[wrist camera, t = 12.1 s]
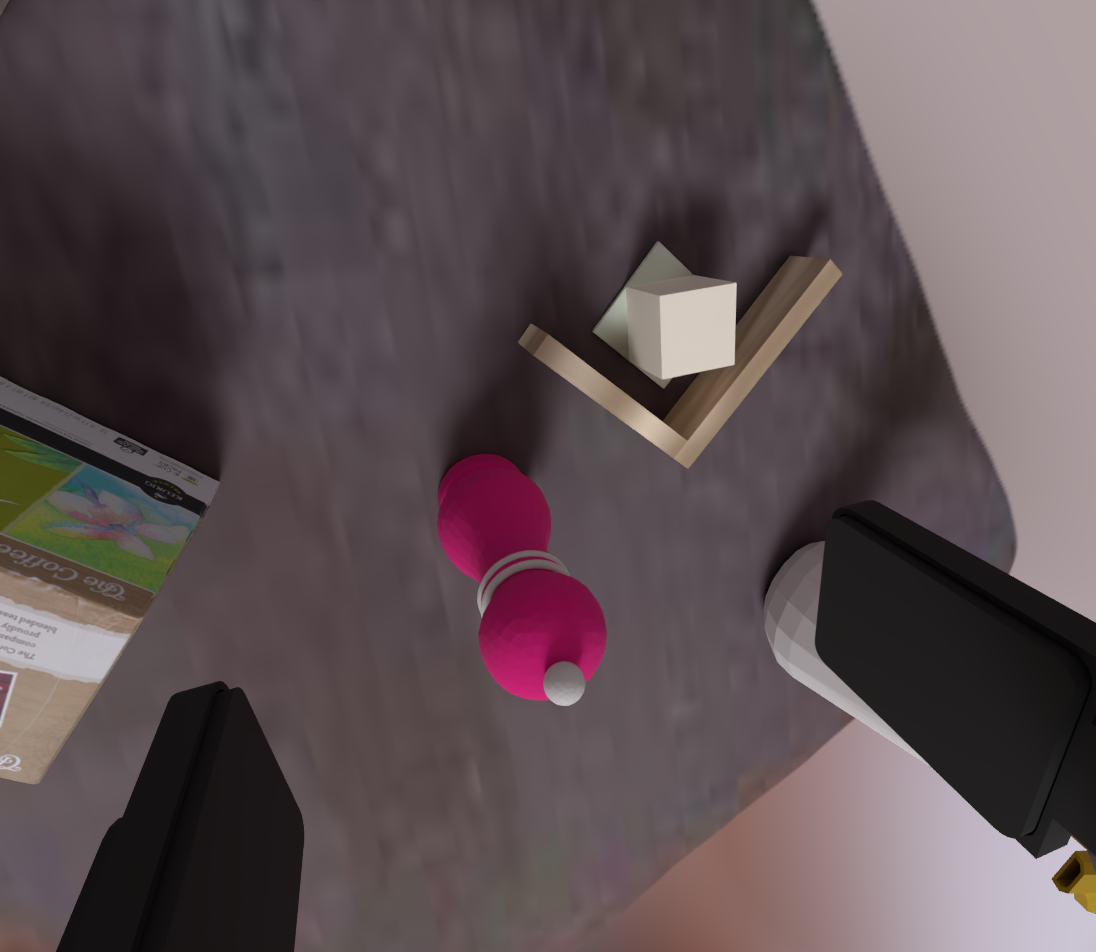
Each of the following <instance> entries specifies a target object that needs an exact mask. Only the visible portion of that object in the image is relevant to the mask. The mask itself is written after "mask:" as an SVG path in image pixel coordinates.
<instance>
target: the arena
mask: <svg viewBox="0 0 1096 952" xmlns="http://www.w3.org/2000/svg"><path fill="white" fill-rule="evenodd" d="M687 276H693V274H692V273H691V272H690V271H689V270H688V269H687V268H686V267H685V266H684V265H683V264H682V263H681V262H680V261H679V260H678V259H677V258H675V257H674V256H673V255H672V254H671V253H670V252H669V251H668V250H667V249H666V248H665V247H664V246H663V245H662V244H661V243H660V242H659V241H657V242H656V243H655V245H654V246H653V247H652V249H651V250H650V252H649V253H648V254H647V256H646V257H645V258H644V260H643V261H642V263H641V264H640V265H639V267H638V268H637V270H636V271H635V272H634V274H633V275H632V276H631V278H630V279H629V281H628V282H627V283H626V285H625V286H624V288H623V289H622V290H621V292H620V293H619V294H618V296H617V297H616V299H615V300H614V301H613V303H612V304H611V305H610V307H609V308H608V310H607V311H606V312H605V314H604V315H603V317H602V318H601V319H600V321H599V322H598V323H597V325H596V326H595V328H594V329H593V330H592V332H593V333H595V334H596V335H597V336H598V337H599V338H601V339H602V340H603V341H604V342H606V343H607V344H608V345H609V346H611V347H612V348H613V349H614V350H616V351H617V352H618V353H619V354H621V355H622V356H623V357H624V358H626V359H627V360H628V361H629V345H628V326H627V308H626V290H625V287H627V286H633V285H639V284H645V283H651V282H657V281H663V280H669V279H675V278H681V277H687ZM841 276H842V273H841V271H840V270H839V269H838V268H837V267H836V266H835V264H834V263H833V262H832V261H831V260H830V259H822V258H811V257H800V256H789V258H788V259H787V260H786V261H785V263H784V264H783V265H782V267H781V268H780V269H779V270H778V272H777V273H776V274H775V276H774V277H773V278H772V280H771V281H770V282H769V283H768V285H767V286H766V287H765V289H764V290H763V291H762V293H761V294H760V295H759V296H758V298H757V299H756V300H755V302H754V303H753V304H752V306H751V307H750V308H749V309H748V311H747V312H746V313H745V315H744V316H743V317H742V318H741V320H740V321H739V322H738V324H737V325H736V326H735V364H734V365H731V366H726V367H722V368H717V369H712V370H707V371H702V372H700V373H699V374H698V376H697V377H696V378H695V379H694V381H693V382H692V383H691V385H690V386H689V387H688V389H687V390H686V391H685V392H684V394H683V395H682V396H681V398H680V399H679V400H678V402H677V403H676V404H675V405H674V407H673V408H672V409H671V411H670V412H669V413H668V414H667V416H666V417H665V418H664V420H663V421H661V420H660V419H658V418H657V417H656V416H654V415H653V414H652V413H650V412H649V411H648V410H647V409H645V408H644V407H643V406H641V405H640V404H639V403H637V402H636V401H635V400H633V399H632V398H631V397H630V396H628V395H627V394H626V393H624V392H623V391H622V390H620V389H619V388H618V387H617V386H615V385H614V384H613V383H611V382H610V381H609V380H607V379H606V378H605V377H603V376H602V375H601V374H600V373H598V372H597V371H596V370H594V369H593V368H592V367H590V366H589V365H588V364H586V363H585V362H584V361H583V360H581V359H580V358H579V357H577V356H576V355H575V354H573V353H572V352H571V351H570V350H568V349H567V348H566V347H564V346H563V345H562V344H560V343H559V342H558V341H556V340H555V339H554V338H553V337H551V336H550V335H549V334H547V333H546V332H544V331H542V330H541V329H539V328H538V327H536V326H535V325H533V324H530V325H529V327H528V328H527V329H526V331H525V332H524V334H523V335H522V337H521V338H520V339H519V341H518V342H517V343H519V344H520V345H521V346H522V347H523V348H525V349H526V350H527V351H528V352H530V353H531V354H532V355H533V356H535V357H536V358H537V359H539V360H540V361H542V362H543V363H544V364H546V365H547V366H548V367H550V368H551V369H552V370H554V371H555V372H556V373H558V374H559V375H561V376H562V377H563V378H565V379H566V380H567V381H569V382H570V383H571V384H573V385H574V386H576V387H577V388H578V389H580V390H581V391H582V392H584V393H585V394H586V395H588V396H589V397H591V398H592V399H593V400H595V401H596V402H597V403H599V404H600V405H601V406H603V407H604V408H606V409H607V410H608V411H610V412H611V413H612V414H614V415H615V416H616V417H618V418H619V419H621V420H622V421H623V422H625V423H626V424H627V425H629V426H630V427H631V428H633V429H634V430H636V431H637V432H638V433H640V434H641V435H642V436H644V437H645V438H646V439H648V440H649V441H651V442H652V443H653V444H655V445H656V446H657V447H659V448H660V449H661V450H663V451H664V452H666V453H667V454H668V455H670V456H671V457H672V458H674V459H675V460H676V461H678V462H679V463H681V464H682V465H683V466H685V467H686V468H687V469H688V468H689V467H690V466H691V465H692V463H693V462H694V461H695V460H696V458H697V457H698V456H699V455H700V453H701V452H702V451H703V450H704V448H705V447H706V446H707V445H708V443H709V442H710V441H711V439H712V438H713V437H714V436H715V434H716V433H717V432H718V431H719V429H720V428H721V427H722V426H723V424H724V423H725V422H726V421H727V419H728V418H729V417H730V416H731V414H732V413H733V412H734V410H735V409H736V408H737V407H738V405H739V404H740V403H741V402H742V400H743V399H744V398H745V397H746V395H747V394H748V393H749V392H750V390H751V389H752V388H753V387H754V385H755V384H756V383H757V381H758V380H759V379H760V378H761V376H762V375H763V374H764V373H765V371H766V370H767V369H768V368H769V366H770V365H771V364H772V363H773V361H774V360H775V359H776V358H777V356H778V355H779V354H780V352H781V351H782V350H783V349H784V347H785V346H786V345H787V344H788V342H789V341H790V340H791V339H792V337H793V336H794V335H795V334H796V332H797V331H798V330H799V329H800V327H801V326H802V325H803V323H804V322H805V321H806V320H807V318H808V317H809V316H810V315H811V313H812V312H813V311H814V310H815V308H816V307H817V306H818V305H819V303H820V302H821V301H822V300H823V298H824V297H825V296H826V294H827V293H828V292H829V291H830V289H831V288H832V287H833V286H834V284H835V283H836V282H837V281H838V279H839V278H840V277H841ZM632 364H633V363H632ZM633 365H634V364H633ZM634 366H636V365H634ZM636 367H637V368H638V369H639V370H640V371H642V372H643V373H644V374H645V375H647V376H648V377H649V378H650V379H652V380H653V381H654V382H655V383H657V384H658V385H659V386H660V387H662V388H663V389H664V388H665V387H666V386H667V384H668V383H669V382H670V380H671V379H672V378H668V379H663V380H662V379H660V378H658V377H656V376H655V375H653V374H651V373H649V372H647V371H645V370H644V369H642V368H640V367H638V366H636Z"/></svg>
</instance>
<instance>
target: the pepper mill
mask: <svg viewBox="0 0 1096 952" xmlns="http://www.w3.org/2000/svg"><path fill="white" fill-rule="evenodd" d="M438 504H439V508H440V509H439V513H438V520H437V528H438V535H439V538H440V541H441V543H442V546H443V548H444V550H445V552H446V554H447V556H448V557H449V558H450V560H451V561H452V562H453V563H454V564H455V565H456V566H457V567H458V568H459V569H460V570H461V571H462V572H463V573H465V574H466V575H468V576H470V577H471V578H473V579H475V580H476V581H478V582H479V583H480V586H479V589H478V595H477V602H478V607H479V610H480V613H481V617H482V620H481V625H480V629H479V634H478V635H479V645H480V651H481V655H482V657H483V660H484V663H485V665H486V667H487V669H488V671H489V672H490V674H491V675H492V677H493V678H494V680H496V681H497V682H498V683H499V684H500V685H501V686H502V687H503V688H504V689H505V690H507V691H508V692H510V693H512V694H514V695H517V696H519V697H522V698H525V699H531V700H551V701H552V702H554V703H555V704H557V705H562V706H568V705H571V704H573V703H575V702H576V701H578V700H579V699H580V697H581V696H582V694H583V693H584V689H585V682H587V681H588V680H589V679H590V678H591V677H592V675H593V674H594V672H595V671H596V669H597V668H598V666H599V665H600V662H601V660H602V657H603V654H604V650H605V646H606V634H607V630H606V625H605V619H604V616H603V612H602V610H601V607H600V605H599V603H598V601H597V600H596V599H595V597H594V596H593V595H592V593H591V592H590V591H589V589H588V588H587V587H586V586H585V585H583V584H582V583H581V582H579V581H578V580H576V579H574V578H573V577H571V576H570V574H569V573H568V570H567V569H566V567H565V566H564V564H563V563H562V562H561V561H560V560H559V559H558V558H556V557H555V556H553V555H551V554H549V553H548V552H547V547H548V544H549V540H550V534H551V516H550V510H549V507H548V504H547V502H546V500H545V497H544V495H543V493H542V492H541V490H540V488H539V487H538V486H537V485H536V484H535V483H534V482H533V481H532V480H531V479H529V478H528V477H527V476H525V475H523V474H522V473H521V472H520V471H519V469H518V468H517V467H516V466H515V465H514V464H513V463H512V462H510V461H509V460H508V459H506V458H504V457H501V456H498V455H495V454H476V455H473V456H469V457H467V458H465V459H463V460H461V461H459V462H458V463H456V464H455V465H454V466H452V467H451V468H450V470H449V471H448V472H447V473H446V474H445V476H444V477H443V479H442V481H441V484H440V487H439V491H438Z"/></svg>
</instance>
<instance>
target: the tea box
mask: <svg viewBox="0 0 1096 952" xmlns="http://www.w3.org/2000/svg"><path fill="white" fill-rule="evenodd" d="M218 486H219V481H216V480H214V479H212V478H210V477H208V476H206V475H204V474H202V473H200V472H198V471H196V470H194V469H193V468H191V467H189V466H187V465H185V464H183V463H181V462H179V461H177V460H175V459H172V458H170V457H168V456H165V455H163V454H161V453H159V452H157V451H155V450H153V449H151V448H149V447H146V446H144V445H142V444H141V443H139V442H137V441H135V440H133V439H131V438H129V437H127V436H124V435H122V434H120V433H118V432H116V431H113V430H111V429H109V428H106V427H104V426H102V425H100V424H98V423H96V422H94V421H92V420H90V419H87V418H85V417H83V416H81V415H79V414H77V413H76V412H74V411H72V410H70V409H68V408H66V407H64V406H62V405H60V404H58V403H55V402H53V401H51V400H49V399H47V398H44V397H42V396H39V395H37V394H35V393H33V392H30V391H28V390H26V389H24V388H22V387H20V386H18V385H16V384H14V383H12V382H10V381H8V380H6V379H5V378H3V377H1V376H0V777H1V778H6V779H10V780H14V781H19V782H25V783H29V784H38V783H40V781H41V780H42V778H43V777H44V775H45V774H46V772H47V770H48V769H49V767H50V766H51V764H52V762H53V761H54V759H55V758H56V756H57V754H58V753H59V751H60V750H61V748H62V746H63V745H64V743H65V742H66V740H67V739H68V737H69V736H70V734H71V732H72V731H73V729H74V728H75V726H76V725H77V723H78V722H79V720H80V719H81V717H82V715H83V714H84V712H85V711H86V709H87V708H88V706H89V704H90V703H91V701H92V700H93V698H94V697H95V695H96V694H97V692H98V690H99V689H100V687H101V686H102V684H103V683H104V681H105V679H106V678H107V676H108V675H109V673H110V672H111V670H112V669H113V667H114V665H115V664H116V662H117V661H118V659H119V657H120V656H121V654H122V653H123V651H124V649H125V648H126V646H127V645H128V643H129V641H130V640H131V638H132V636H133V635H134V633H135V632H136V630H137V628H138V627H139V625H140V623H141V622H142V620H143V618H144V617H145V615H146V613H147V612H148V610H149V609H150V607H151V605H152V604H153V602H154V600H155V599H156V597H157V595H158V594H159V592H160V590H161V588H162V587H163V585H164V583H165V582H166V580H167V578H168V576H169V575H170V573H171V571H172V569H173V568H174V566H175V564H176V562H177V561H178V559H179V557H180V555H181V554H182V552H183V550H184V549H185V547H186V545H187V544H188V542H189V540H190V539H191V537H192V535H193V534H194V532H195V530H196V528H197V527H198V525H199V523H200V522H201V520H202V518H203V517H204V515H205V513H206V511H207V509H208V507H209V505H210V503H211V501H212V499H213V497H214V495H215V493H216V491H217V489H218Z"/></svg>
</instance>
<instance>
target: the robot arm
mask: <svg viewBox="0 0 1096 952" xmlns="http://www.w3.org/2000/svg"><path fill="white" fill-rule="evenodd" d="M8 2H9V0H0V16H1V15H2V13H3V11H4V9H5V7H6V6H7V4H8ZM815 648H816V651H817V653H818V655H819V657H820V659H821V660H822V661H823V662H824V664H825V665H826V666H827V667H828V668H830V669H831V670H832V671H833V672H834V673H835V674H836V675H837V676H838V677H839V678H840V679H841V680H842V681H843V682H844V683H845V684H846V685H847V686H848V687H849V688H850V689H851V690H852V691H853V692H854V693H855V694H856V695H857V696H858V697H859V698H861V699H862V700H863V701H864V702H865V703H866V704H867V705H868V706H869V707H870V708H871V709H872V710H873V711H874V712H875V713H876V714H877V715H878V716H879V717H880V718H881V719H882V720H883V721H884V722H885V723H886V724H887V725H888V726H889V727H891V728H892V729H893V730H894V731H895V732H896V733H897V734H898V735H899V736H900V737H901V738H902V739H903V740H904V741H905V742H906V743H907V744H908V745H909V746H910V747H911V748H912V749H913V750H914V751H915V752H916V753H917V754H918V755H919V756H920V757H922V758H923V759H924V760H925V761H926V762H927V763H928V764H929V765H930V766H931V767H932V768H933V769H934V770H935V771H936V772H937V773H938V774H939V775H940V776H941V777H942V778H943V779H944V780H945V781H946V782H947V783H948V784H949V785H950V786H952V787H953V788H954V789H955V790H956V791H957V792H958V793H959V794H960V795H961V796H962V797H963V798H964V799H965V800H966V801H967V802H968V803H969V804H970V805H971V806H972V807H973V808H974V809H975V810H976V811H977V812H979V814H980V815H981V816H983V817H984V818H985V819H986V820H987V821H988V822H989V823H990V824H991V825H992V826H993V827H994V828H995V829H996V830H998V831H999V832H1000V833H1002V834H1003V835H1005V836H1007V837H1010V838H1015V839H1016V840H1017V841H1018V842H1019V843H1020V844H1021V845H1022V846H1023V847H1024V848H1026V850H1028V851H1029V852H1030V853H1031V854H1032V855H1033V856H1034V857H1035V858H1036V859H1037V858H1039V857H1041V856H1043V855H1046V854H1048V853H1050V852H1052V851H1054V850H1056V849H1059V848H1061V847H1063V846H1065V845H1067V843H1068V841H1069V839H1070V837H1071V835H1073V836H1074V837H1075V838H1076V839H1077V840H1078V841H1079V842H1081V843H1082V844H1083V845H1084V846H1085V847H1086V848H1087V851H1088V853H1089V856H1090V859H1091V862H1092V865H1093V868H1094V870H1095V873H1096V623H1095V622H1093V621H1091V620H1090V619H1088V618H1086V617H1084V616H1083V615H1081V614H1079V613H1077V612H1075V611H1073V610H1072V609H1070V608H1068V607H1066V606H1064V605H1063V604H1061V603H1059V602H1057V601H1056V600H1054V599H1052V598H1050V597H1048V596H1046V595H1045V594H1043V593H1041V592H1039V591H1037V590H1036V589H1034V588H1032V587H1030V586H1028V585H1027V584H1025V583H1023V582H1021V581H1019V580H1017V579H1016V578H1014V577H1012V576H1010V575H1009V574H1007V573H1005V572H1003V571H1001V570H1000V569H998V568H996V567H994V566H992V565H991V564H989V563H987V562H985V561H983V560H982V559H980V558H978V557H976V556H974V555H973V554H971V553H969V552H967V551H965V550H964V549H962V548H960V547H958V546H956V545H955V544H953V543H951V542H949V541H947V540H946V539H944V538H942V537H940V536H938V535H936V534H935V533H933V532H931V531H929V530H927V529H926V528H924V527H922V526H920V525H918V524H917V523H915V522H913V521H911V520H909V519H908V518H906V517H904V516H902V515H900V514H899V513H897V512H895V511H893V510H891V509H890V508H888V507H886V506H884V505H882V504H881V503H879V502H876V501H873V500H867V501H863V502H860V503H856V504H852V505H849V506H845V507H842V508H839V509H837V510H836V511H835V512H834V514H833V516H832V520H830V521H829V522H828V524H827V527H826V535H825V545H824V554H823V564H822V574H821V583H820V593H819V603H818V612H817V622H816V632H815ZM303 847H304V825H303V819H302V815H301V812H300V809H299V807H298V805H297V803H296V801H295V799H294V797H293V795H292V792H291V790H290V788H289V786H288V784H287V782H286V780H285V778H284V775H283V773H282V771H281V769H280V767H279V765H278V763H277V761H276V759H275V756H274V754H273V752H272V750H271V748H270V746H269V744H268V742H267V739H266V737H265V735H264V733H263V731H262V729H261V727H260V725H259V723H258V720H257V718H256V716H255V714H254V712H253V710H252V708H251V706H250V703H249V701H248V699H247V697H246V695H245V693H244V692H243V690H242V689H241V688H239V687H237V688H233V689H230V690H229V688H228V686H227V685H226V684H225V683H224V682H221V681H218V682H214V683H211V684H207V685H204V686H200V687H196V688H193V689H189V690H186V691H182V692H179V693H176V694H174V695H173V696H172V697H171V698H170V700H169V702H168V704H167V707H166V709H165V712H164V714H163V717H162V719H161V722H160V724H159V727H158V729H157V732H156V734H155V737H154V739H153V742H152V744H151V747H150V749H149V752H148V754H147V757H146V760H145V762H144V765H143V767H142V770H141V772H140V775H139V777H138V780H137V782H136V785H135V787H134V790H133V792H132V795H131V797H130V800H129V802H128V805H127V807H126V810H125V812H124V815H123V817H122V818H119V819H117V820H116V821H115V822H114V823H113V824H112V825H111V826H110V827H109V829H108V831H107V833H106V835H105V836H104V838H103V840H102V842H101V844H100V847H99V849H98V852H97V854H96V856H95V859H94V861H93V864H92V866H91V869H90V871H89V873H88V876H87V878H86V881H85V883H84V885H83V888H82V890H81V893H80V895H79V897H78V900H77V902H76V905H75V907H74V910H73V912H72V914H71V917H70V919H69V922H68V924H67V926H66V929H65V931H64V934H63V936H62V939H61V941H60V943H59V946H58V948H57V951H56V952H294V946H295V935H296V924H297V913H298V902H299V891H300V880H301V869H302V858H303Z"/></svg>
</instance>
